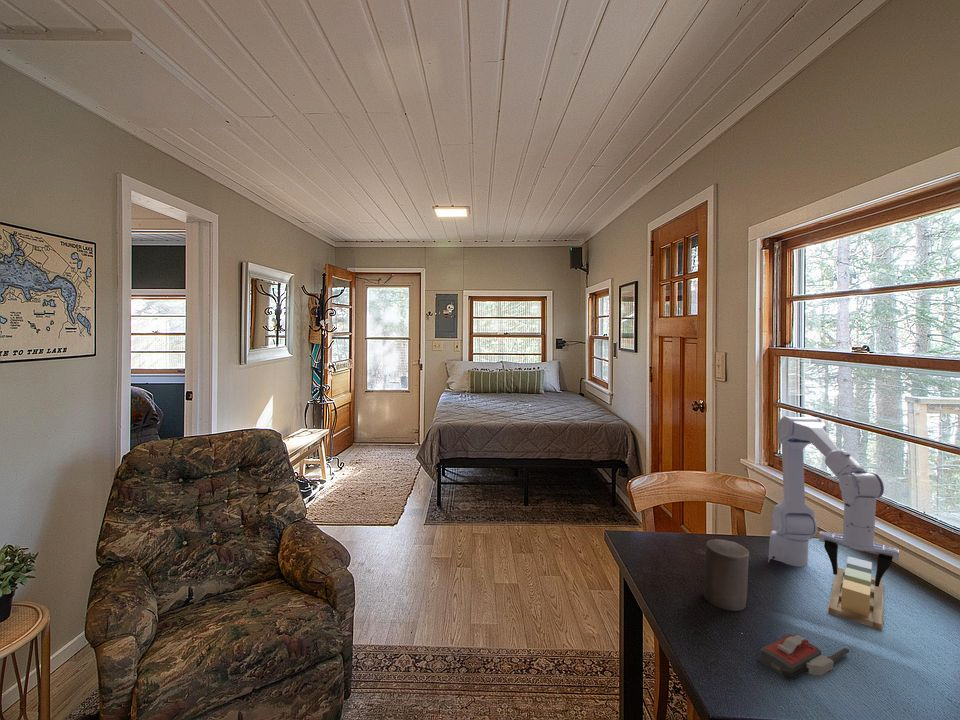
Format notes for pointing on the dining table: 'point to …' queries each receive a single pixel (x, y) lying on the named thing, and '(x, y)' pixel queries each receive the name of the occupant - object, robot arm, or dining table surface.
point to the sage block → (858, 576)
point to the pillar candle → (726, 574)
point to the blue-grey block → (859, 564)
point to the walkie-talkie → (797, 657)
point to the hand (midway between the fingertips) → (855, 578)
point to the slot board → (835, 608)
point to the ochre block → (856, 598)
